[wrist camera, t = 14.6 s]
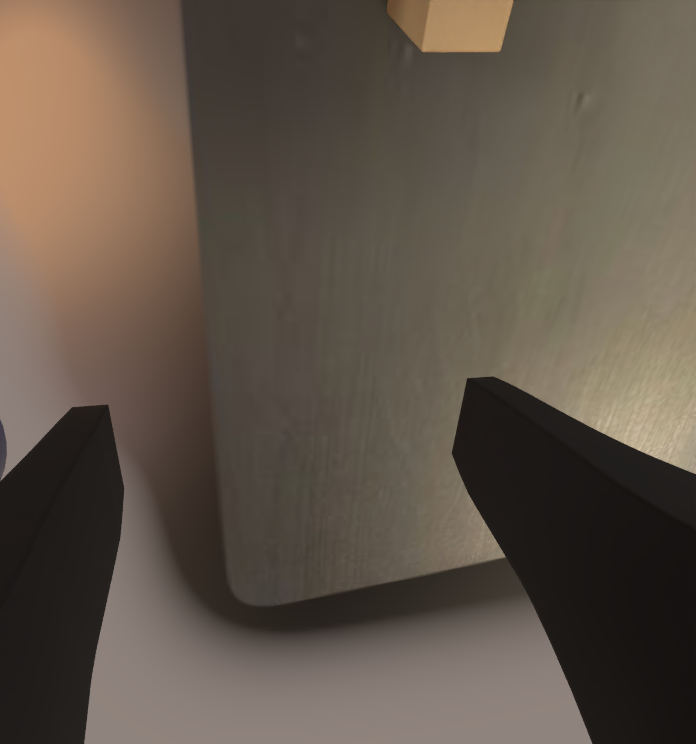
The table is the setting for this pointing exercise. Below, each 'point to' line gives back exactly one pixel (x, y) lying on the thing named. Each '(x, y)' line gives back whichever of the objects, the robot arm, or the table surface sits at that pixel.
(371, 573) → the table surface
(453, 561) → the table surface
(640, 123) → the table surface
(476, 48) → the cake knife
